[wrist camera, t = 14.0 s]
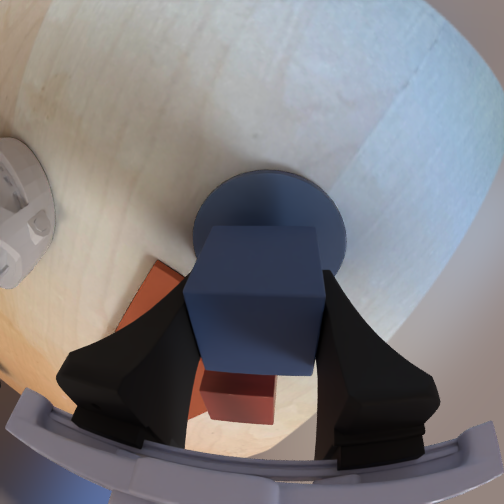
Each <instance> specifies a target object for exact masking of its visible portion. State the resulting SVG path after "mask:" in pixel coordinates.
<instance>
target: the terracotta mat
mask: <svg viewBox="0 0 504 504" xmlns="http://www.w3.org/2000/svg"><path fill="white" fill-rule="evenodd" d="M183 279H184V277H183V276H181V275H180V274H178V273H177V272H175V271H174V270H172V269H171V268H169V267H168V266H166V265H165V264H163V263H162V262H160V261H159V260H157V261H156V262H155V264H154V266H153V267H152V269H151V270H150V272H149V274H148V275H147V277H146V279H145V280H144V282H143V284H142V285H141V287H140V289H139V290H138V292H137V294H136V295H135V297H134V299H133V301H132V302H131V304H130V306H129V308H128V309H127V311H126V313H125V315H124V316H123V318H122V320H121V322H120V324H119V325H118V327H117V329H116V331H115V332H117V331H118V330H120V329H122V328H123V327H125V326H127V325H128V324H130V323H132V322H133V321H135V320H136V319H137V318H139V317H140V316H142V315H143V314H144V313H146V312H147V311H148V310H150V309H151V308H152V307H153V306H154V305H156V304H157V303H158V302H159V301H160V300H161V299H163V298H164V297H165V296H166V295H167V294H168V293H169V292H170V291H171V290H173V289H174V288H175V287H176V286H177V285H178V284H179V283H180V282H181V281H182V280H183ZM204 370H205V368H204V365H203V362H202V358H200V361H199V364H198V367H197V371H196V375H195V380H194V385H193V390H192V396H191V402H190V408H189V415H188V420H189V419H191V418H193V417H196V416H198V415H200V414H202V413H204V412H206V411H207V408H206V406H205V404H204V401H203V399H202V397H201V394H200V392H199V389H200V385H201V381H202V377H203V374H204Z"/></svg>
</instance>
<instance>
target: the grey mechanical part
mask: <svg viewBox="0 0 504 504" xmlns="http://www.w3.org/2000/svg"><path fill="white" fill-rule="evenodd" d="M54 228H55V208H54V201H53V197H52V193H51V189H50V186H49V183H48V180H47V178H46V175H45V173H44V171H43V169H42V167H41V165H40V163H39V161H38V160H37V158H36V157H35V155H34V154H33V152H32V151H31V150H30V149H29V148H28V147H27V146H26V145H25V144H24V143H22V142H21V141H19V140H18V139H15V138H12V137H7V138H0V287H1V288H5V289H13V288H15V287H16V286H18V285H19V283H20V282H21V281H22V280H23V279H24V278H25V277H26V276H27V275H28V274H29V273H30V272H31V271H32V270H33V268H34V267H35V265H36V264H37V263H38V261H39V260H40V259H41V257H42V256H43V255H44V253H45V251H46V250H47V248H48V246H49V244H50V242H51V241H52V239H53V233H54Z"/></svg>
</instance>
